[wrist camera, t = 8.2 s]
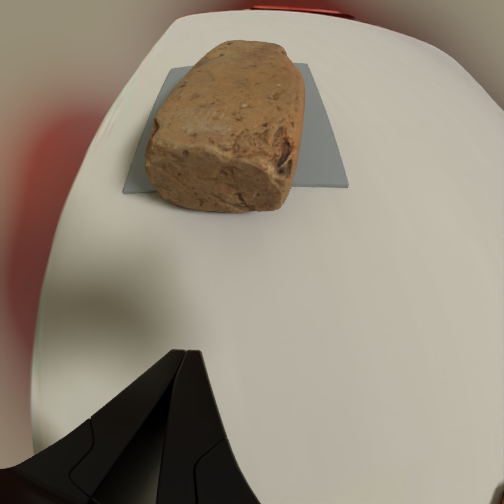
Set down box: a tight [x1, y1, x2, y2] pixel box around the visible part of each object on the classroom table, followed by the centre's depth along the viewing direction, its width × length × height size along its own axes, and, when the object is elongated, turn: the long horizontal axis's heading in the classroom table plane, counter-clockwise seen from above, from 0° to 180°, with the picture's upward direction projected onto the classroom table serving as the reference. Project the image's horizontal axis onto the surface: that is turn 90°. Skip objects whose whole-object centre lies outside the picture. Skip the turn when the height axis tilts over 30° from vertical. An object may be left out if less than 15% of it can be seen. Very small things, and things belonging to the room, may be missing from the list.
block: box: [145, 40, 305, 213], centre depth 22 cm, size 11×8×20 cm
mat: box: [123, 63, 349, 194], centre depth 28 cm, size 20×24×1 cm
